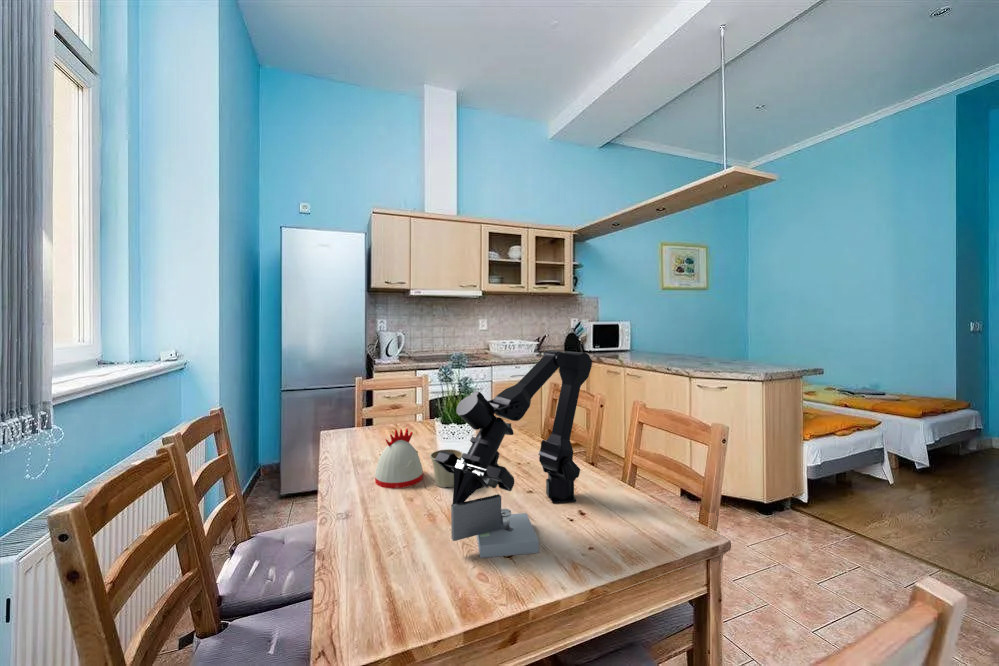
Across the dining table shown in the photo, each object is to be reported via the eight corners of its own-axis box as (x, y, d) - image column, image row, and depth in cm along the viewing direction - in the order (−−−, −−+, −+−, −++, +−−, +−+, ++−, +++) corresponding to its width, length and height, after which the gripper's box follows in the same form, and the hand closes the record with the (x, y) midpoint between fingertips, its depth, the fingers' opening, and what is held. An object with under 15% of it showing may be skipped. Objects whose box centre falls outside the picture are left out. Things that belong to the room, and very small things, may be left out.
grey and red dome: (430, 481, 119) (429, 431, 119) (383, 492, 112) (382, 438, 111) (412, 467, 131) (412, 421, 130) (369, 476, 123) (368, 427, 123)
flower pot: (457, 491, 112) (457, 461, 112) (425, 489, 114) (424, 458, 113) (466, 478, 121) (466, 450, 121) (437, 476, 123) (436, 448, 123)
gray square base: (526, 523, 94) (526, 512, 94) (538, 552, 82) (538, 539, 82) (475, 527, 93) (475, 516, 93) (480, 558, 81) (480, 544, 81)
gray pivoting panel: (507, 522, 89) (507, 490, 89) (513, 528, 87) (513, 495, 87) (450, 537, 83) (450, 503, 83) (454, 543, 81) (454, 508, 81)
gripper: (536, 467, 91) (507, 537, 83) (473, 451, 102) (442, 511, 94) (516, 441, 84) (483, 514, 76) (451, 427, 96) (415, 489, 87)
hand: (454, 507), depth 83 cm, fingers closed
